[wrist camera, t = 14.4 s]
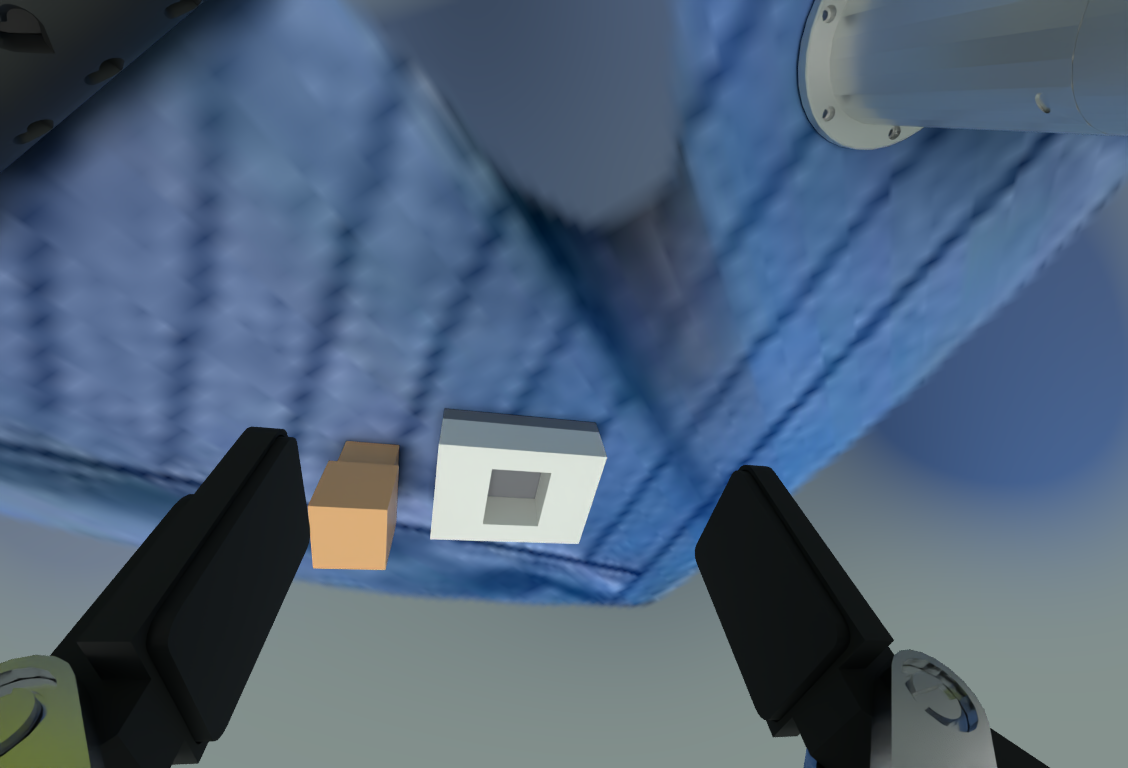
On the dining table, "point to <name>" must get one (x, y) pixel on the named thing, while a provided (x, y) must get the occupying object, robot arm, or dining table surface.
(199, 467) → the dining table surface
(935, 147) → the dining table surface
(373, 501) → the plug
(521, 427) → the socket block
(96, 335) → the dining table surface
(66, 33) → the muzzle brake
